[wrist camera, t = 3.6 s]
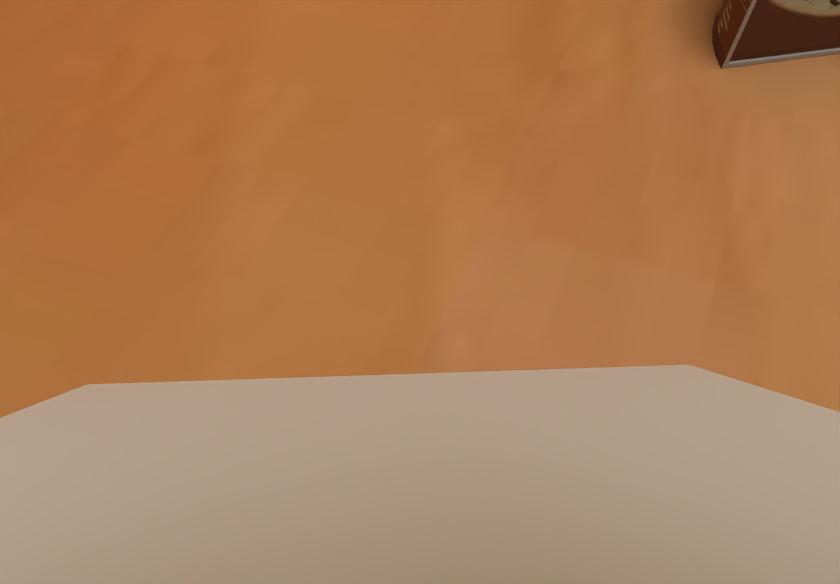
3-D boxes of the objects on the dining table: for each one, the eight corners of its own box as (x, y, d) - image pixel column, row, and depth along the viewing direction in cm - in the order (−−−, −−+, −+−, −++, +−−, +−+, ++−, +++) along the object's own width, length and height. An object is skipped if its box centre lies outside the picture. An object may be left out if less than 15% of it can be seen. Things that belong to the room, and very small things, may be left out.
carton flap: (1550, 707, 4) (1551, 634, 4) (-922, 860, 3) (-927, 775, 3) (690, 383, 15) (689, 364, 15) (87, 403, 14) (87, 384, 14)
